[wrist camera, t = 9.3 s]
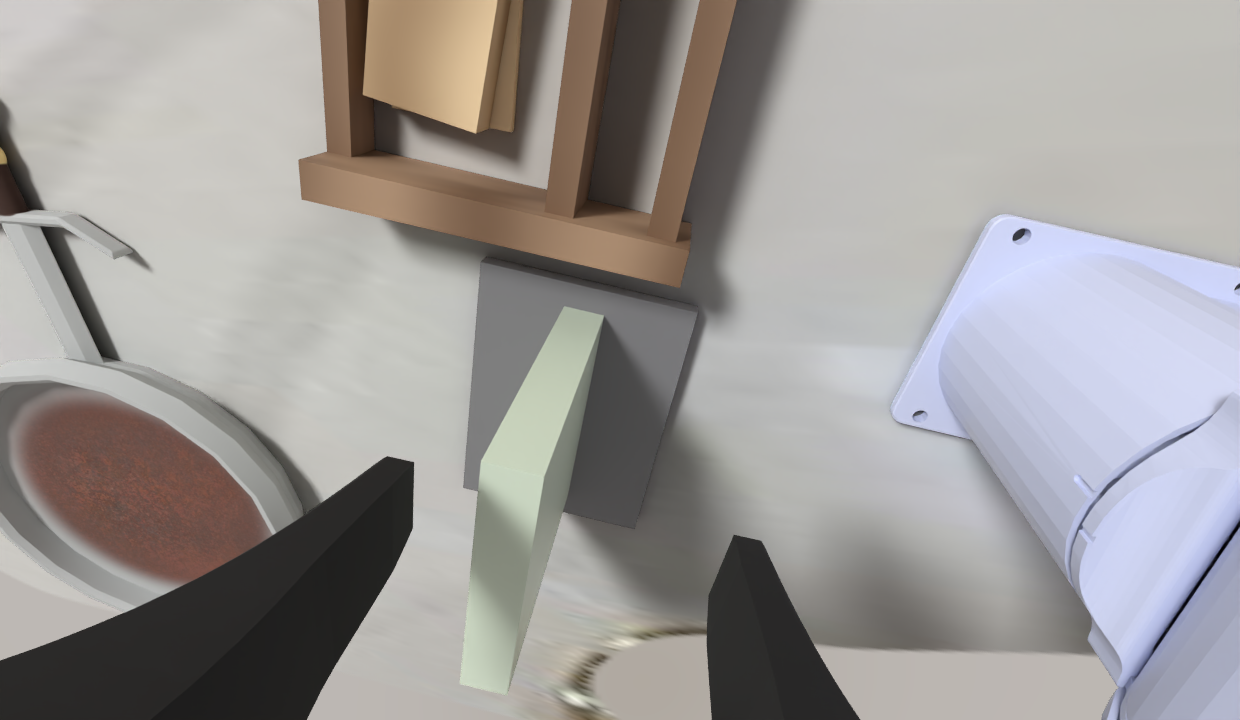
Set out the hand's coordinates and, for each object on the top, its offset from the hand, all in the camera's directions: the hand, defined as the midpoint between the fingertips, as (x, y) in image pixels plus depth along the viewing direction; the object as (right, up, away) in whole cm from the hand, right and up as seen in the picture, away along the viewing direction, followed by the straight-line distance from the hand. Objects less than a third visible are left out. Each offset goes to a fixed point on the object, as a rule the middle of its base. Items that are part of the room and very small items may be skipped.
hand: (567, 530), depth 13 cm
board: (-1, +2, +10) cm, 11 cm away
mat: (-1, +2, +11) cm, 11 cm away
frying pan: (-22, +2, +15) cm, 27 cm away
